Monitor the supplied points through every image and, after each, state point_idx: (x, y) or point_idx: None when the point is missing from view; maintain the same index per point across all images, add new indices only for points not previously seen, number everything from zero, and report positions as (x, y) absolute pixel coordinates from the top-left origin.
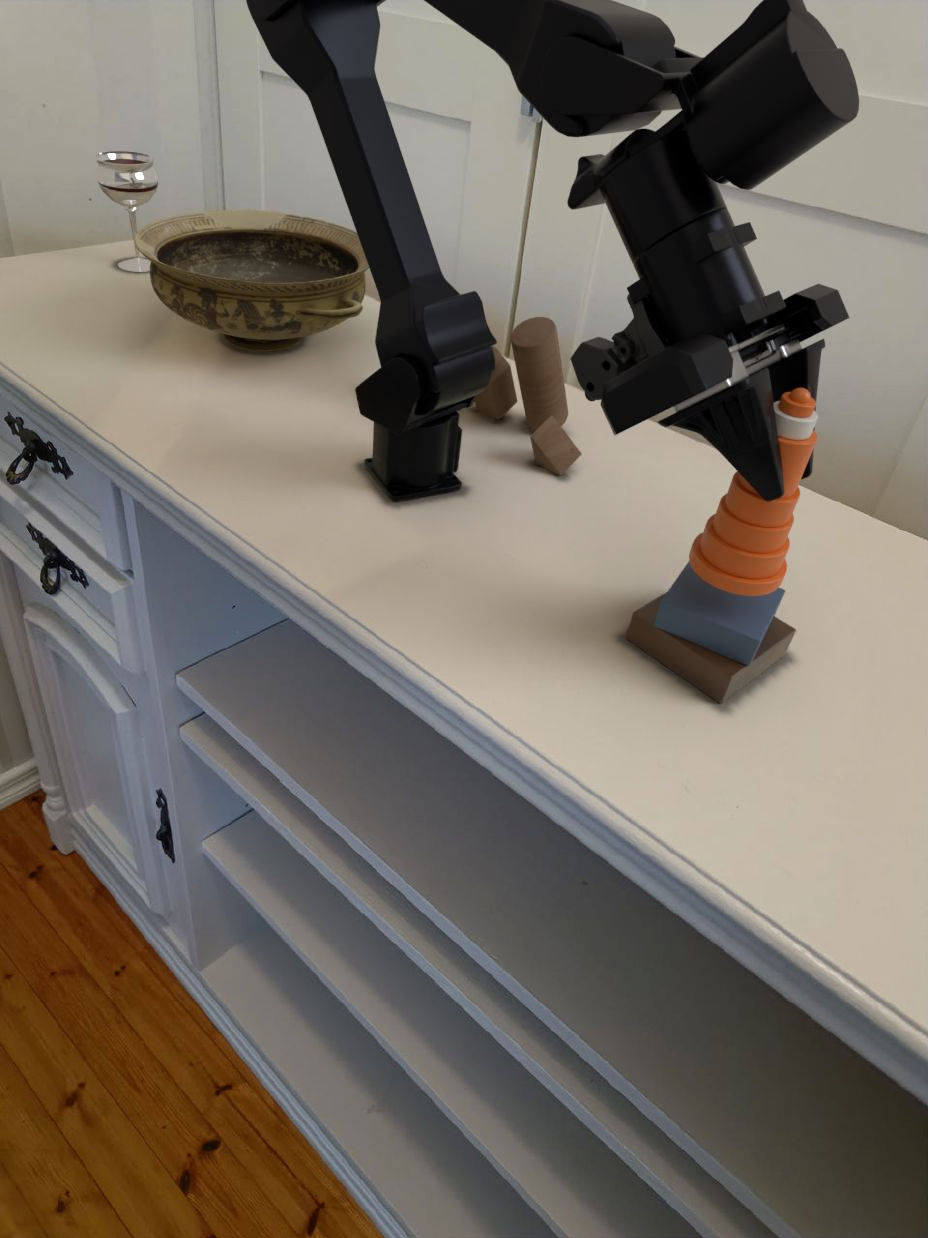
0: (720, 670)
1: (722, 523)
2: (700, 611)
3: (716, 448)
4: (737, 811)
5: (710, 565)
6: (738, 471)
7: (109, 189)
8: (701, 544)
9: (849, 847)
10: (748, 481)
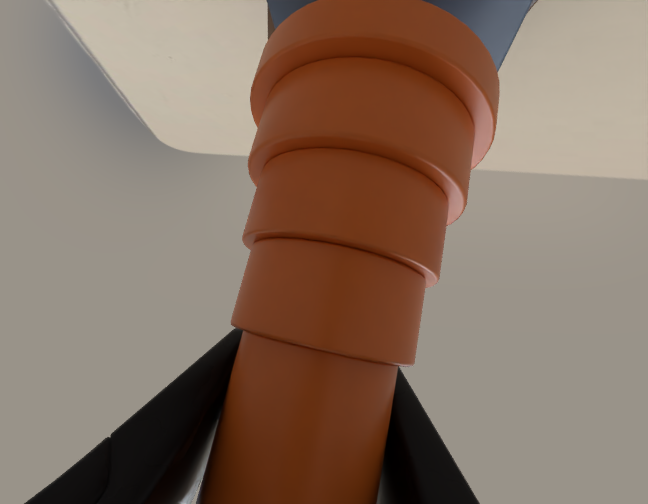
0: (268, 30)
1: (256, 200)
2: (286, 9)
3: (40, 492)
4: (166, 58)
5: (261, 98)
6: (159, 393)
7: None
8: (299, 80)
9: (230, 128)
10: (192, 367)
